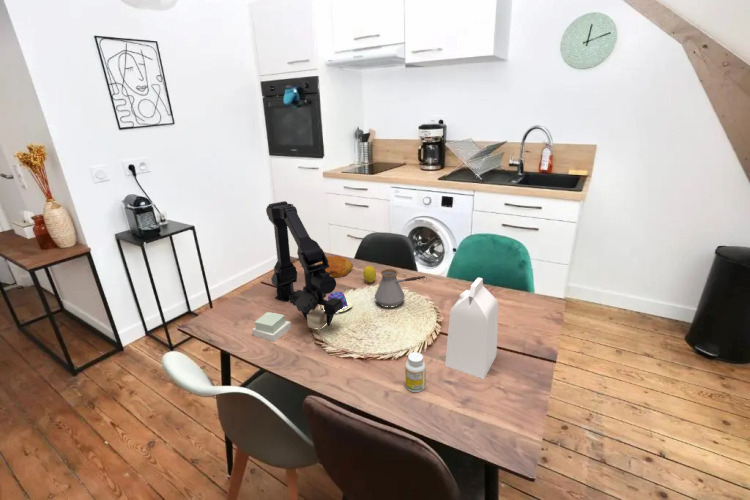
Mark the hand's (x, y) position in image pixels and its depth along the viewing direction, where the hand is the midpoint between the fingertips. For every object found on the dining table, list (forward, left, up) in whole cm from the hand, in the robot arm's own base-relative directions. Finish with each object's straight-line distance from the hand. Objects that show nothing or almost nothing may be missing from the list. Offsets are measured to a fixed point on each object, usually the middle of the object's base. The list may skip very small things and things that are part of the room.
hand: (317, 322), depth 134 cm
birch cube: (0, 0, -1) cm, 1 cm away
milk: (-3, +53, -1) cm, 53 cm away
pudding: (-14, -1, -2) cm, 14 cm away
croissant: (-40, -19, -2) cm, 44 cm away
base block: (+10, -12, -2) cm, 16 cm away
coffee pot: (-24, +21, -1) cm, 32 cm away
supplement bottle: (+14, +42, -1) cm, 44 cm away
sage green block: (+10, -12, +1) cm, 16 cm away
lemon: (-37, +1, -1) cm, 37 cm away
